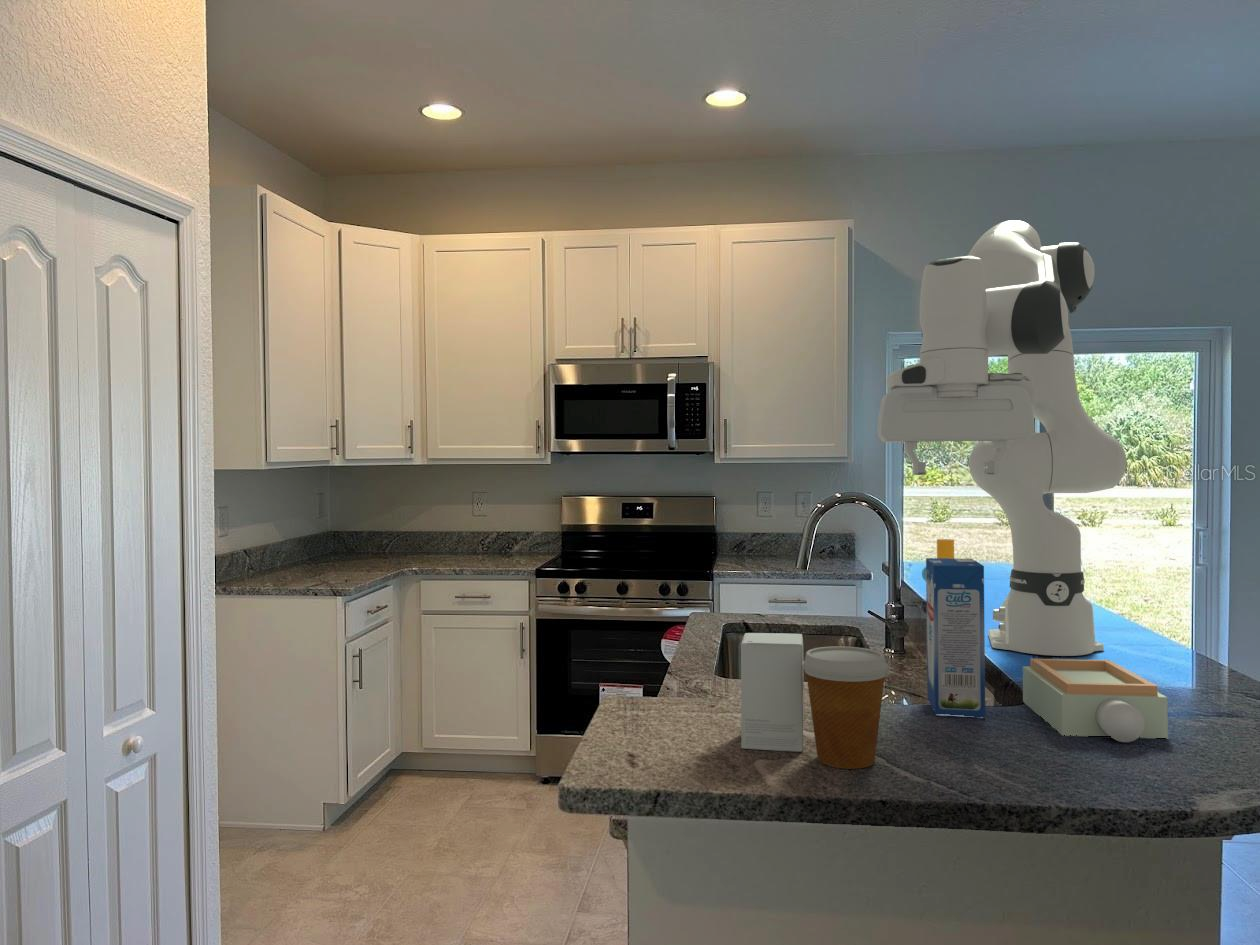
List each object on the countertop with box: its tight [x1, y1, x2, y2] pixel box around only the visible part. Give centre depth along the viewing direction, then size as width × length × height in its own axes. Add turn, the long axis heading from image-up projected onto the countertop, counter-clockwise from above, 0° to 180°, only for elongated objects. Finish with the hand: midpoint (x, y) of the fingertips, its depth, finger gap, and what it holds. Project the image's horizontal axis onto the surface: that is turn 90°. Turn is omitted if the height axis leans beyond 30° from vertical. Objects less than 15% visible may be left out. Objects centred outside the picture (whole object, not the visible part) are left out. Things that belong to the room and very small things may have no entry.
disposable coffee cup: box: [802, 645, 890, 770], centre depth 100 cm, size 10×10×12 cm
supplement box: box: [740, 632, 805, 753], centre depth 107 cm, size 7×7×13 cm
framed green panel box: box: [1022, 658, 1169, 743], centre depth 114 cm, size 19×12×6 cm, turn 172°
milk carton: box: [925, 557, 986, 719], centre depth 122 cm, size 10×6×20 cm, turn 167°
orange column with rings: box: [921, 538, 955, 582], centre depth 221 cm, size 12×10×15 cm
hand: (954, 474), depth 122 cm, fingers open, 8 cm apart
